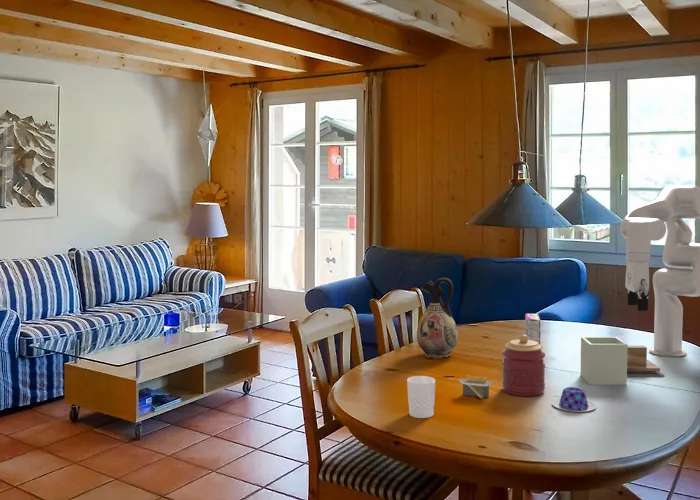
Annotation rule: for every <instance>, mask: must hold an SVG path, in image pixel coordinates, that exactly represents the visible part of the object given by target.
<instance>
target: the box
mask: <svg viewBox="0 0 700 500" xmlns="http://www.w3.org/2000/svg"><path fill="white" fill-rule="evenodd" d="M627 347H628V343H626V342H625V341H624V340H622V339H620V338H619V337H618V336H581V337H580V375H579V376H580V377H582V379H583V380H584V381H585V382H586V383H587V384H588V385H591V386H592V385H597V386H598V385H601V386H602V385H603V386H604V385H605V386H606V385H610V386H611V385H614V386H615V385H618V386H619V385H623V386H627V384H628V382H627V381H628V377H627Z"/></svg>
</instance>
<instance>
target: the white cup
mask: <svg viewBox="0 0 700 500" xmlns="http://www.w3.org/2000/svg"><path fill="white" fill-rule="evenodd" d="M406 385H407V386H406V387H407V401H408V413H409V416H411V417H412V418H417V419H427V418H432V417H433V416H434V408H435V397H436V379H435V378H434V377H432V376H426V375H413V376H410V377H407V379H406Z"/></svg>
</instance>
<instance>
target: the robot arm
mask: <svg viewBox="0 0 700 500" xmlns="http://www.w3.org/2000/svg"><path fill="white" fill-rule="evenodd" d="M684 219H688V220H690V219H695V220H696V219H699V220H700V187H699V186H696V185H669V186H666V187H664V188H662V190H660V191H659V193H658V194H657V195H656V197H655V198H654V199H653V200H652V201H651V202H649V203H647V204H643V205H641V206H638V207H636V208H633V209H632V210H631V211H629V212H628V214H626V216H625V217H624V218H623V220H622V222H621V224H620V230H619V231H620V235H621V236H622V237H623V238H624V239H626V242H625V243H626V244H625V245H626V251H625V252H626V254H625V261H626V267H625V268H626V269H625V270H626V271H625V280H624V281H625V282H624V283H625V284H624V285H625V289H627V305H628V306H637V307H636V308H637V311H639V312H643V311H645V312H647V311H648V310H649V290H650V268H649V267H650V266H649V265H650V264H649V263H651V257H652V255H651V254H652V253H651V252H652V251H651V250H652V249H651V248H652V247H651V245H652V241H653V242H655V241H660V240H662V239H663V238H664V236H665V235H666V237H665V238H666V239H665V242H664V248H663V252H662V264H664V266H666V267H668V268H661V269H660V268H659V269H658V270H656V271H655V272H654V273H653V276H652V285H653V292H654V325H653V326H654V329H653V332H654V333H653V346H650V347H649V348H648V351H649V352H650V354H654V355H656V356H661V357H677V358H678V357H683V356H684V357H685V356H687V351H686V349H684V348H683V346H682V345H683V325H684V324H683V322H684V321H683V320H684V319H683V317H684V306H683V304H682V302H681V300H680V299H679V297H678V296H681V297H682V296H684V297H692V298H693V297H700V243H697V242H695V243H694V242H692V237H693V231H692V229H691V227H690V226H689V225H688V224H687V223H686V222H685V220H684ZM666 233H667V234H666Z"/></svg>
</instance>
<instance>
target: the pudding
mask: <svg viewBox="0 0 700 500" xmlns="http://www.w3.org/2000/svg"><path fill="white" fill-rule="evenodd" d="M561 392H562V393H561V396H560V398H558V399H555V400H553V401H552V403H551V404H552V406H554V407H555V408H557V409H559V410H563V411H568V412H575V413H583V412H590V411H593V410H595V409H596V408H597V406H596V404H594V403H593V402H591V401H589V400H588V399H587V395H586V392H585V390H584V389H582V388H580V387H575V386H573V387H572V386H567V387H565V388H564V389H563V390H562V391H561Z"/></svg>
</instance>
